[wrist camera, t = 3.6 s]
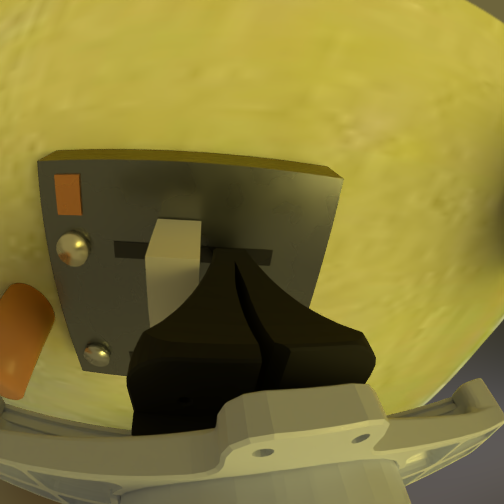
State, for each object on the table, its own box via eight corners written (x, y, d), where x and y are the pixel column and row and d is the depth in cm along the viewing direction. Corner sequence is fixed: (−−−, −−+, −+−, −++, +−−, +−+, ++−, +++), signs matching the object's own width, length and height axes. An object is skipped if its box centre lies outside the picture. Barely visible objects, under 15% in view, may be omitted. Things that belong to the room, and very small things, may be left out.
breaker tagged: (197, 285, 14) (196, 331, 12) (158, 283, 14) (150, 328, 11) (201, 221, 13) (200, 259, 10) (157, 218, 12) (145, 256, 10)
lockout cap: (60, 334, 17) (34, 405, 12) (15, 326, 17) (-16, 390, 12) (46, 285, 15) (6, 359, 10) (-2, 280, 15) (-45, 344, 10)
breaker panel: (278, 357, 20) (286, 384, 18) (89, 348, 18) (81, 375, 16) (327, 166, 14) (347, 181, 12) (57, 150, 12) (32, 163, 10)
